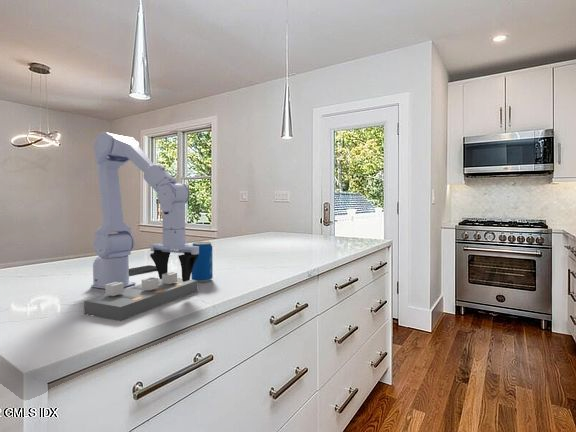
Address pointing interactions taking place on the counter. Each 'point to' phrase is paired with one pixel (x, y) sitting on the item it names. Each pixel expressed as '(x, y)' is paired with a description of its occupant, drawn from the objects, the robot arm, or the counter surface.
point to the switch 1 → (114, 288)
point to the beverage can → (203, 263)
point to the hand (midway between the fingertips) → (174, 279)
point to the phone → (142, 270)
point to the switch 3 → (169, 278)
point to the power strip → (137, 300)
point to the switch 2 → (149, 283)
